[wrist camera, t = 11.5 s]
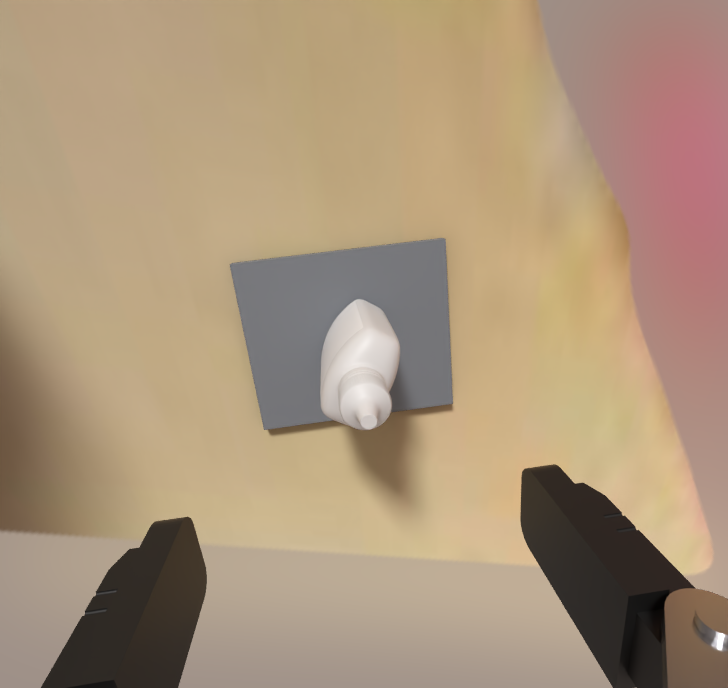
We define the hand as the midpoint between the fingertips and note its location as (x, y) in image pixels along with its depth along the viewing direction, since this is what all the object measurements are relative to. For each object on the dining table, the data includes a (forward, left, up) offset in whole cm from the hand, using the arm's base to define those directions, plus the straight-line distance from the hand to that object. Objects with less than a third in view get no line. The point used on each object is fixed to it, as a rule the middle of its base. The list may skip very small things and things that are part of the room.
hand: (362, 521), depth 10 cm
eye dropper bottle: (+1, -2, -20) cm, 20 cm away
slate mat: (+1, -2, -20) cm, 20 cm away
